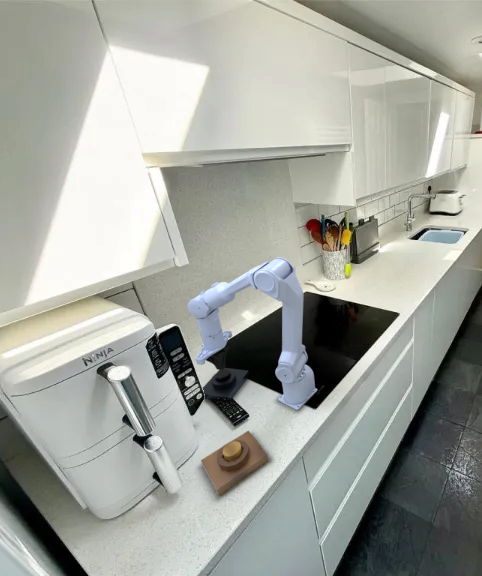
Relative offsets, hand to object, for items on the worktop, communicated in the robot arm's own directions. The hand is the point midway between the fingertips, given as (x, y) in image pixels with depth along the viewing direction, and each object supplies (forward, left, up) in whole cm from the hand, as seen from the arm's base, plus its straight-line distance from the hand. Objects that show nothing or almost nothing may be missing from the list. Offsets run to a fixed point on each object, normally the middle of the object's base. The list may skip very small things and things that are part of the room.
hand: (220, 368), depth 96 cm
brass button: (+16, +25, -4) cm, 30 cm away
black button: (0, 0, -4) cm, 4 cm away
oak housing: (+16, +25, -7) cm, 31 cm away
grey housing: (0, 0, -7) cm, 7 cm away
